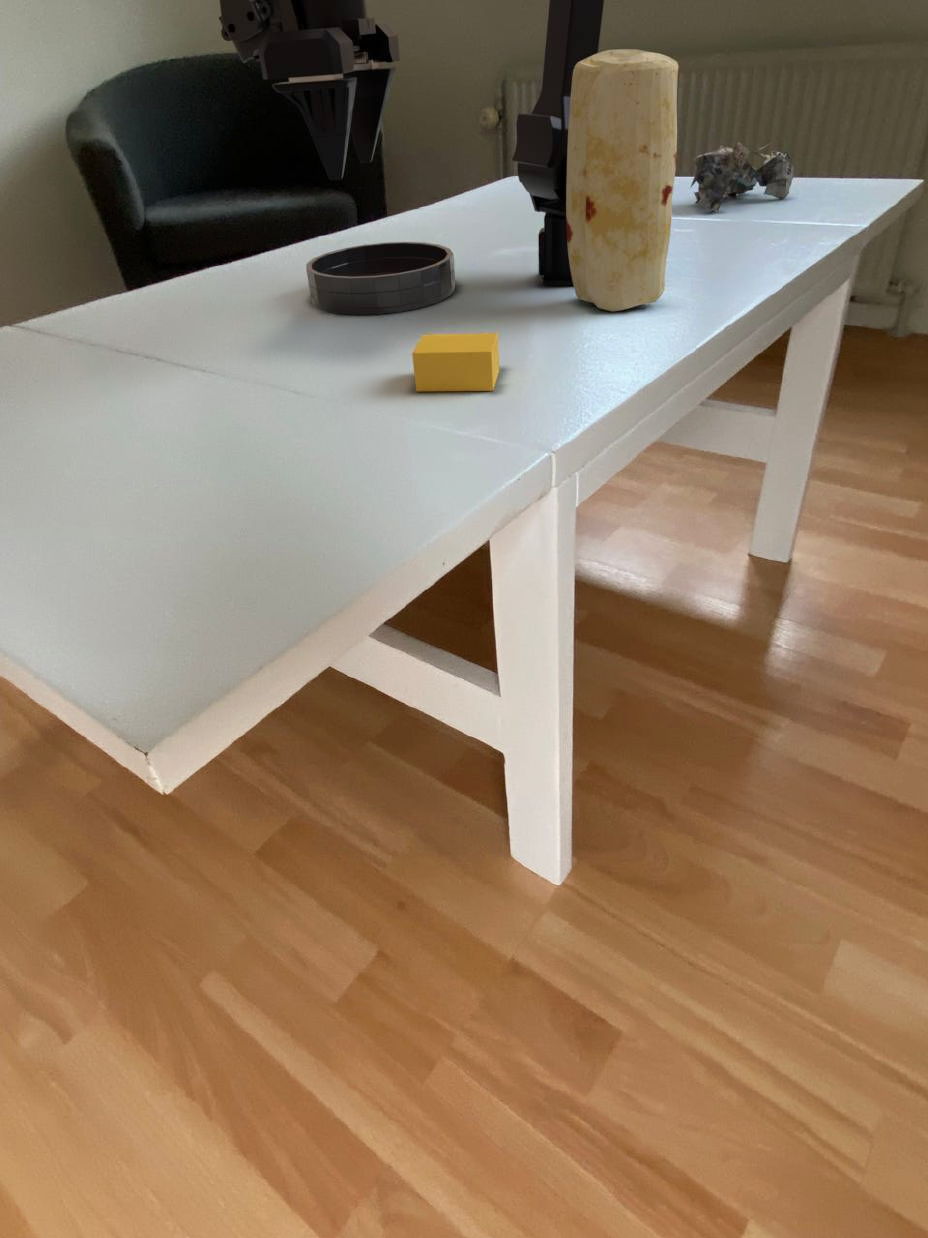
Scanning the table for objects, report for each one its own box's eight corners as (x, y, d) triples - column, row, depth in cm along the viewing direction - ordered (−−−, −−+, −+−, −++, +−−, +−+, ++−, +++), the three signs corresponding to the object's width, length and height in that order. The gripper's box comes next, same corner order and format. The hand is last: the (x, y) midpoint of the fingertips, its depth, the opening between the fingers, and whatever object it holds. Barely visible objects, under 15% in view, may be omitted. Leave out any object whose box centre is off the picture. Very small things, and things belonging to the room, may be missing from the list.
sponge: (499, 370, 65) (498, 332, 63) (493, 390, 62) (491, 351, 60) (426, 371, 66) (422, 334, 64) (416, 391, 63) (412, 352, 61)
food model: (672, 297, 78) (693, 43, 66) (653, 317, 74) (672, 48, 62) (576, 291, 82) (580, 50, 70) (552, 310, 77) (552, 55, 66)
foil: (823, 176, 106) (736, 111, 101) (766, 254, 111) (681, 196, 106) (789, 160, 115) (708, 99, 110) (738, 232, 121) (659, 177, 115)
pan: (464, 272, 91) (462, 239, 89) (442, 313, 79) (439, 275, 77) (334, 277, 93) (329, 244, 91) (293, 316, 81) (286, 280, 79)
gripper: (265, -47, 70) (299, 159, 79) (166, -60, 55) (222, 194, 65) (390, -59, 68) (410, 153, 77) (321, -77, 53) (355, 188, 63)
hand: (351, 170), depth 71 cm, fingers open, 9 cm apart
